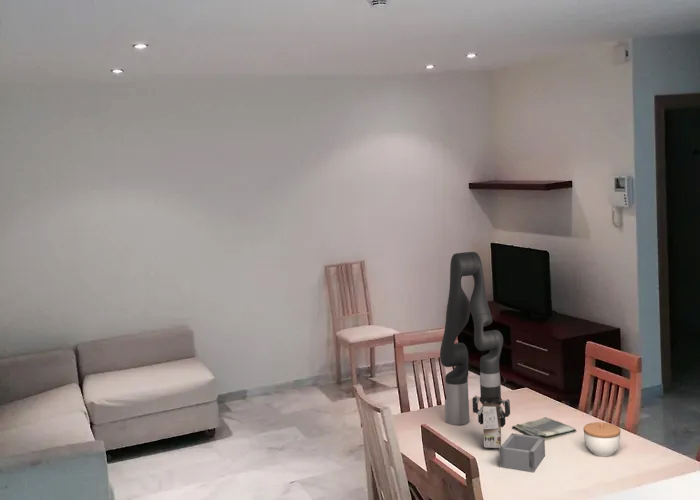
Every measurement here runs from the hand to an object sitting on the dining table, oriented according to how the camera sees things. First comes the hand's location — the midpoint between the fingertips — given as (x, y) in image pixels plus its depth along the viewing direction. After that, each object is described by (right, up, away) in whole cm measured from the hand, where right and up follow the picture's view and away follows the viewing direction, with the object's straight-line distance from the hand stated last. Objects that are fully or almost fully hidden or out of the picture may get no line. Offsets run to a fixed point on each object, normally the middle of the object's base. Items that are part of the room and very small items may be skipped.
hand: (491, 425), depth 267 cm
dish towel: (+23, -6, +14) cm, 28 cm away
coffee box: (0, -7, +1) cm, 7 cm away
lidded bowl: (+38, -8, -11) cm, 40 cm away
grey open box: (+8, -10, -14) cm, 19 cm away
